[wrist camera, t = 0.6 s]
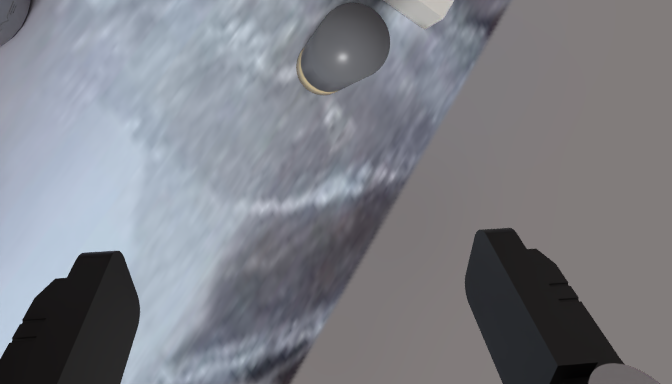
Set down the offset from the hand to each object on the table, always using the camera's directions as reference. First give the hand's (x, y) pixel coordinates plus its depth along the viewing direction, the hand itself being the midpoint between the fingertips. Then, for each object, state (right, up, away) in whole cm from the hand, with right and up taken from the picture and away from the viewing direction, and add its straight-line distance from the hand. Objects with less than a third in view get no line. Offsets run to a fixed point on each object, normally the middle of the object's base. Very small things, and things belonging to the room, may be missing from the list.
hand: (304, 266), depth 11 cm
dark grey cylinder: (0, +11, +24) cm, 27 cm away
